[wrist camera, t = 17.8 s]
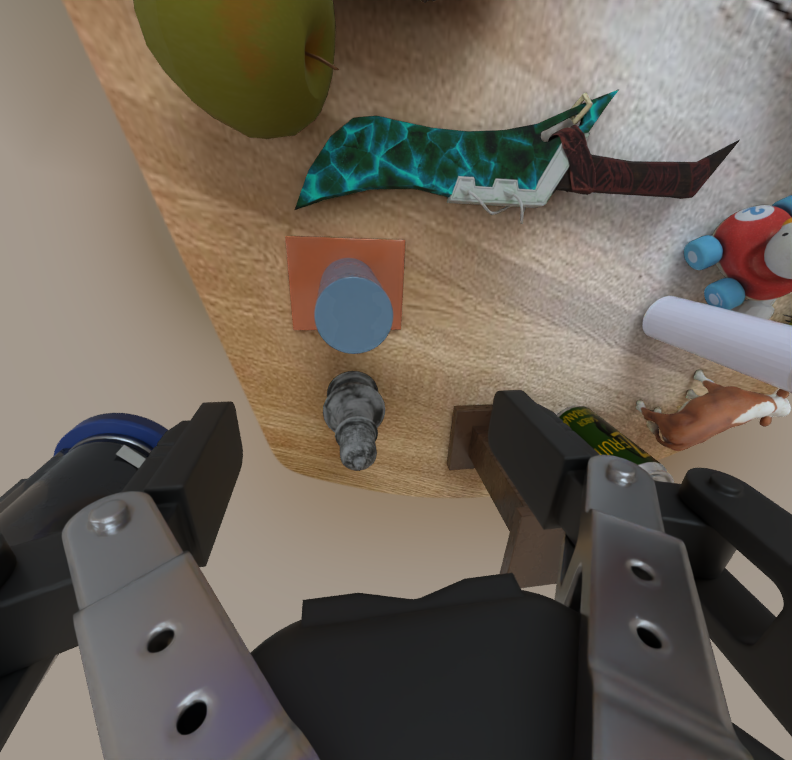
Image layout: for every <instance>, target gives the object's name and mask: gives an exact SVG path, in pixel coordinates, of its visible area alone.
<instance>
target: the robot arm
mask: <svg viewBox="0 0 792 760" xmlns="http://www.w3.org/2000/svg"><path fill="white" fill-rule="evenodd" d="M488 442H489V446H490V449H491V451H492V453H493V454H494V456H495V457H496V459H497V460H498V462H499V463H500V465H501V466H502V468H503V469H504V471H505V472H506V474H507V475H508V477H509V478H510V480H511V481H512V483H513V484H514V486H515V487H516V489H517V490H518V492H519V493H520V495H521V496H522V498H523V499H524V501H525V502H526V504H527V505H528V507H529V508H530V510H531V511H532V513H533V514H534V516H535V517H536V519H537V520H538V522H539V523H540V525H541V526H542V528H543V529H544V530H547V529H556V528H562V529H563V530H564V532H565V534H564V537H563V540H562V545H561V553H560V561H559V569H558V577H557V585H556V593H555V600H553V599H551V598H548V597H546V596H543V595H540V594H536V593H532V592H529V591H524V590H521V588H520V586H519V584H518V582H517V580H516V578H515V576H514V574H513V573H505V574H498V575H490V576H483V577H475V578H467V579H463V580H461V581H459V582H456V583H454V584H452V585H449V586H447V587H445V588H442V589H440V590H438V591H435V592H433V593H431V594H428V595H426V596H424V597H422V598H418V599H405V598H396V597H388V596H380V595H372V594H363V593H353V594H346V595H339V596H330V597H322V598H315V599H307V600H303V606H302V620H300V621H297V622H295V623H293V624H290V625H289V626H287V627H285V628H283V629H281V630H280V631H278V632H276V633H275V634H274V635H272V636H271V637H269V638H268V639H266V640H265V641H264V642H262V644H260V645H259V646H258V647H257V648H256V649H254V650H253V651H252V652H251V653H250V652H249V650H248V649H247V647H246V645H245V643H244V642H243V640H242V638H241V637H240V635H239V634H238V632H237V630H236V629H235V627H234V625H233V623H232V622H231V620H230V618H229V617H228V615H227V613H226V612H225V610H224V608H223V607H222V605H221V603H220V602H219V600H218V598H217V596H216V595H215V593H214V591H213V590H212V588H211V586H210V585H209V583H208V582H207V580H206V578H205V576H204V575H203V573H202V572H201V570H200V568H199V567H204V566H206V564H207V562H208V559H209V556H210V553H211V550H212V548H213V545H214V542H215V539H216V536H217V534H218V531H219V528H220V525H221V523H222V520H223V517H224V514H225V511H226V508H227V506H228V503H229V500H230V497H231V495H232V492H233V489H234V486H235V483H236V480H237V478H238V475H239V472H240V469H241V466H242V458H243V449H242V442H241V437H240V431H239V426H238V420H237V415H236V409H235V406H234V404H233V402H208V403H202V405H201V406H200V407H199V409H198V410H197V412H196V413H195V415H194V416H193V418H192V419H191V420H190V421H182V422H180V423H179V424H177V425H176V426H174V427H173V428H171V429H170V430H168V431H167V432H166V433H165V434H164V436H163V437H162V438H161V440H160V441H159V442H158V444H157V447H154V448H153V447H151V446H150V445H148V444H147V443H145V442H143V441H141V440H139V439H137V438H134V437H131V436H127V435H123V434H115V433H103V434H96V435H92V436H89V437H87V438H84V439H82V440H81V441H79V442H78V443H77V444H75V445H74V446H73V447H72V448H64V449H62V450H60V451H59V452H58V453H57V454H56V455H55V456H54V457H52V458H51V459H50V460H49V461H48V462H47V463H46V464H44V465H43V466H42V467H41V468H40V469H39V470H37V471H36V472H35V473H34V474H33V475H32V476H30V477H29V478H28V479H21V480H20V481H19V482H18V483H17V484H15V485H14V486H13V487H12V488H11V489H10V490H8V491H7V492H6V493H5V494H4V495H3V496H1V497H0V752H1V750H2V748H3V746H4V745H5V743H6V741H7V739H8V738H9V736H10V734H11V732H12V731H13V729H14V727H15V725H16V724H17V722H18V720H19V718H20V716H21V714H22V713H23V711H24V710H25V708H26V706H27V704H28V702H29V701H30V699H31V697H32V696H33V694H34V693H35V691H36V690H37V688H38V687H39V685H40V684H41V682H42V681H43V679H44V677H45V676H46V674H47V673H48V671H49V669H50V668H51V666H52V665H53V663H54V661H55V659H56V658H57V656H58V655H59V653H62V652H64V651H67V650H69V649H72V648H74V647H77V646H79V649H80V654H81V658H82V662H83V667H84V672H85V676H86V681H87V685H88V689H89V694H90V699H91V703H92V707H93V712H94V717H95V721H96V726H97V730H98V735H99V739H100V744H101V748H102V753H103V757H104V760H784V759H783V758H781V757H780V756H779V755H777V754H776V753H774V752H773V751H772V750H770V749H769V748H767V747H766V746H765V745H763V744H762V743H760V742H759V741H758V740H756V739H755V738H753V737H752V736H751V735H749V734H748V733H746V732H745V731H744V730H742V729H741V728H739V727H738V726H737V725H735V724H734V723H732V722H731V718H730V714H729V711H728V707H727V703H726V699H725V695H724V691H723V688H722V684H721V680H720V676H719V672H718V669H717V665H716V661H715V657H714V654H713V649H712V646H711V642H710V639H711V640H712V641H713V642H714V643H715V645H716V646H717V647H718V648H719V650H720V651H721V652H722V653H723V654H724V656H725V657H726V658H727V659H728V660H729V662H730V663H731V664H732V665H733V666H734V667H735V669H736V670H737V671H738V672H739V674H740V675H741V676H742V677H743V678H744V680H745V681H746V682H747V683H748V684H749V686H750V687H751V688H752V689H753V690H754V692H755V693H756V694H757V695H758V696H759V698H760V699H761V700H762V701H763V703H764V704H765V705H766V706H767V707H768V708H769V710H770V711H771V712H772V713H773V714H774V716H775V717H776V718H777V719H778V721H779V722H780V723H781V724H782V725H783V726H784V728H785V729H786V730H787V731H788V733H789V734H790V735H791V736H792V514H790V513H789V512H787V511H786V510H784V509H783V508H781V507H780V506H779V505H777V504H776V503H774V502H773V501H771V500H770V499H768V498H767V497H765V496H764V495H763V494H761V493H760V492H758V491H757V490H755V489H754V488H753V487H751V486H749V485H748V484H747V483H745V482H743V481H741V480H739V479H737V478H735V477H733V476H731V475H728V474H726V473H723V472H720V471H716V470H712V469H708V468H693V469H690V470H688V472H687V473H686V476H685V477H684V479H683V481H682V484H676V483H669V482H662V481H655V480H653V478H652V476H651V475H650V474H649V473H648V472H647V471H646V470H644V469H643V468H642V467H640V466H638V465H637V464H635V463H633V462H631V461H629V460H626V459H623V458H620V457H616V456H611V455H600V454H599V453H598V452H597V451H595V450H594V449H593V448H592V447H591V446H590V445H589V444H588V443H587V442H586V441H584V440H583V439H582V438H581V437H580V436H579V435H578V434H577V433H576V432H575V431H572V429H571V428H570V427H569V426H568V425H567V424H566V423H563V421H562V420H561V419H560V418H559V417H558V416H557V415H556V414H555V413H554V412H552V411H550V410H548V409H547V408H545V407H543V406H541V405H539V404H536V403H535V402H534V401H533V400H532V399H531V398H530V397H529V396H528V395H527V394H526V393H525V392H524V391H522V390H506V391H498V392H497V393H496V394H495V396H494V401H493V407H492V412H491V418H490V424H489V429H488ZM736 550H738V551H739V552H741V553H742V554H743V555H744V556H745V557H746V558H747V559H748V560H750V561H751V562H752V563H753V564H754V565H755V566H757V568H759V569H760V570H761V571H762V572H763V573H764V574H765V575H766V576H768V577H769V578H770V579H771V580H772V581H773V582H774V583H775V584H776V586H777V587H778V589H779V590H780V592H781V594H782V597H783V600H784V607H783V610H782V611H781V612H780V614H779V615H778V616H777V617H775V616H774V615H773V614H772V613H771V612H770V611H769V610H768V609H767V608H766V607H765V606H764V605H763V604H761V602H760V601H759V600H758V599H757V598H755V596H753V595H752V594H751V593H750V592H749V591H748V590H747V589H746V588H745V587H744V586H743V585H742V584H741V583H740V582H739V581H738V580H737V579H736V578H735V577H734V576H733V575H732V574H731V573H730V572H729V571H728V570H727V569H726V568H725V567H726V565H727V564H728V562H729V560H730V559H731V557H732V556H733V554H734V553H735V551H736Z"/></svg>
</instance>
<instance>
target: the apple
mask: <svg viewBox="0 0 792 760" xmlns="http://www.w3.org/2000/svg"><path fill="white" fill-rule="evenodd" d="M133 1H134V9H135V12H136V15H137V18H138V21H139V24H140V27H141V30H142V33H143V36H144V39H145V42H146V45H147V47H148V48H149V50H150V51H151V52H152V54H153V55H154V57H155V58H156V60H157V61H158V63H159V64H160V66H161V67H162V69H163V70H164V71H165V73H166V74H167V75H168V76H169V77H170V78H171V79H172V80H173V81H174V82H175V83H176V84H177V85H178V86H179V87H180V88H181V90H182V91H183V92H184V93H185V94H186V95H187V96H188V97H189V98H190V99H191V100H192V101H193V102H194V103H195V104H197V105H198V106H199V107H200V108H202V109H203V110H204V111H206V112H207V113H208V114H209V115H211V116H212V117H213V118H215V119H217V120H219V121H220V122H222V123H224V124H226V125H228V126H230V127H231V128H233V129H235V130H237V131H239V132H241V133H243V134H244V135H246V136H248V137H251V138H263V139H270V138H278V137H286V136H293V135H296V134H297V133H298V132H300V131H301V130H302V129H304V128H305V127H306V126H307V125H309V124H310V123H311V122H313V121H314V120H315V119H316V117H317V116H318V115H319V113H320V112H321V110H322V108H323V105H324V102H325V100H326V97H327V94H328V90H329V87H330V83H331V79H332V74H333V69H334V70H340V69H338V68H337V67H335V66H334V65H333V64H334V53H335V29H336V25H335V15H334V5H333V1H332V0H133Z"/></svg>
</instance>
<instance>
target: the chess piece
mask: <svg viewBox="0 0 792 760" xmlns="http://www.w3.org/2000/svg"><path fill="white" fill-rule="evenodd" d="M384 415H385V404H384V401H383V399H382V397H381V395H380V394H379V393H378V388H377V385H376V383H375V381H374V380H373V379H372V378H371V377H370V376H368V375H367V374H365V373H362V372H358V371H349V372H344V373H342V374H340V375H338V376H337V377H335V378H334V379H333V380H332V382H331V383H330V385H329V387H328V390H327V399H326V401H325V403H324V406H323V416H324V420H325V422H326V424H327V425H328V427H329V428H330V429H331V430H332V431H333V432H335V438H336V441H337V443H338V445H339V446H340V458H341V461H342V463H343V465H344V466H346V467H347V468H349V469H351V470H355V471H360V470H364V469H366V468H368V467H369V466H371V465H372V464H373V463H374V461H375V459H376V455H377V451H376V445H375V441H376V439H377V436H378V430H377V427H378V426H379V425H380V424H381V422H382V420H383V418H384Z"/></svg>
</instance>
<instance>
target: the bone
mask: <svg viewBox="0 0 792 760" xmlns="http://www.w3.org/2000/svg"><path fill="white" fill-rule="evenodd" d="M776 299H777V298H775V299H770V300H764V301H756V300H750V299H747V300H744V302H743V303H742V304H741V305H739V306H737V307H735V308H733V309H732V311H736V312H740V313H744V314H748V315H752V316H756V317H760V318H764V319H768V320H769V319H770V318H771V316H772V315H773V313H774V308H773V307H772V304H773V303H774V302H775V300H776Z"/></svg>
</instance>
